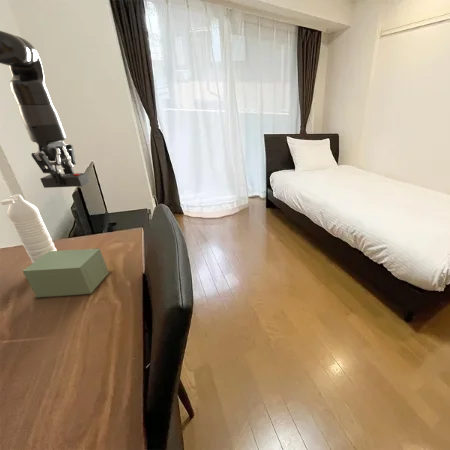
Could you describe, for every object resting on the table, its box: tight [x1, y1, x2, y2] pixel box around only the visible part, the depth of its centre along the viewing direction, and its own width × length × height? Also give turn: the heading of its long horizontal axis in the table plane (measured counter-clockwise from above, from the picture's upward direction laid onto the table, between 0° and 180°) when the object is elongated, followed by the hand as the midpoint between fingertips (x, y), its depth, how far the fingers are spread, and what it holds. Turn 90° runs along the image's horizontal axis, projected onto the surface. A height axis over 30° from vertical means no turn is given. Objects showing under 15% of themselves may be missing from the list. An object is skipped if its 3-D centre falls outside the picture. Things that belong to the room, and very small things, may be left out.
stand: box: [22, 248, 110, 298], centre depth 79 cm, size 14×10×9 cm
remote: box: [39, 172, 91, 189], centre depth 81 cm, size 10×4×3 cm, turn 98°
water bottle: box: [0, 193, 58, 264], centre depth 82 cm, size 9×6×25 cm
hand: (66, 183), depth 81 cm, fingers closed on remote, 4 cm apart
